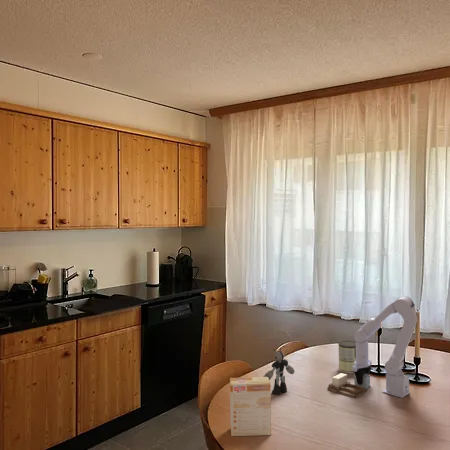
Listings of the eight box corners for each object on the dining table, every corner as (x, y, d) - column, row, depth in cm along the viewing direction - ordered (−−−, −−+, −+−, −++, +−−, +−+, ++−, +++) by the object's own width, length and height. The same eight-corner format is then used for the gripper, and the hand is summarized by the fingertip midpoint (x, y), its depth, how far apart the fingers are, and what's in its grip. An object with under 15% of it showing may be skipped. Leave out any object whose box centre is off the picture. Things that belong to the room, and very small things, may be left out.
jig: (367, 391, 206) (367, 386, 206) (354, 398, 198) (354, 393, 198) (340, 383, 216) (340, 378, 216) (327, 389, 209) (327, 384, 209)
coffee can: (337, 366, 241) (336, 340, 240) (356, 367, 240) (356, 340, 239) (340, 373, 230) (340, 346, 230) (360, 373, 229) (360, 346, 229)
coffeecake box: (269, 426, 172) (268, 376, 172) (271, 435, 165) (271, 383, 165) (230, 427, 172) (229, 377, 171) (231, 436, 164) (230, 384, 164)
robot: (267, 399, 198) (267, 354, 198) (260, 396, 202) (259, 352, 201) (298, 388, 210) (297, 346, 210) (290, 385, 214) (290, 344, 214)
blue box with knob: (370, 386, 212) (370, 373, 212) (365, 388, 209) (365, 375, 209) (358, 383, 216) (358, 370, 216) (354, 385, 214) (354, 372, 213)
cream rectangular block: (347, 384, 212) (347, 374, 212) (338, 388, 207) (338, 379, 207) (341, 382, 215) (341, 372, 214) (332, 387, 209) (332, 377, 209)
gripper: (362, 349, 220) (362, 376, 220) (346, 355, 210) (346, 384, 211) (375, 352, 215) (375, 380, 215) (359, 359, 205) (360, 388, 205)
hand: (362, 382), depth 213 cm, fingers closed on blue box with knob, 4 cm apart
